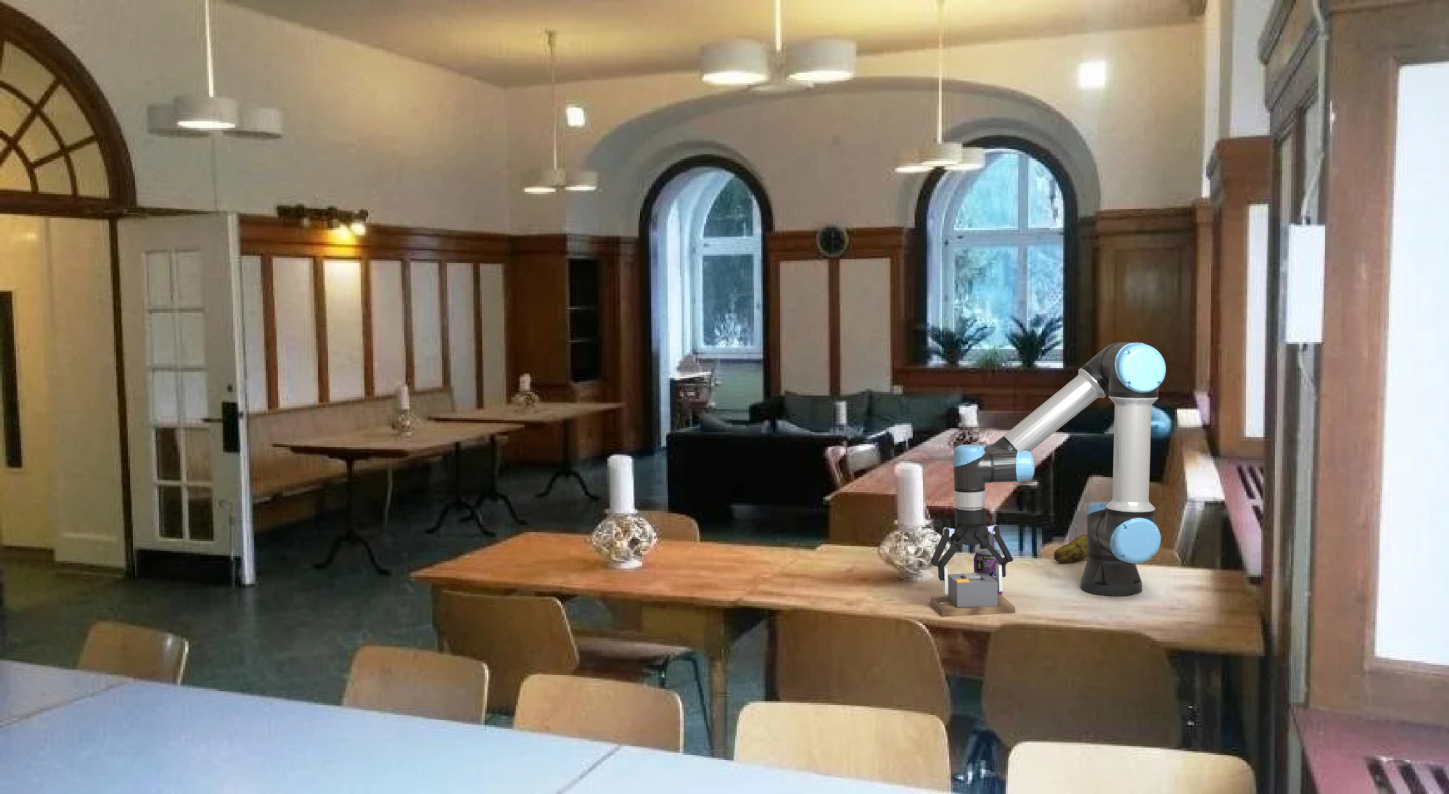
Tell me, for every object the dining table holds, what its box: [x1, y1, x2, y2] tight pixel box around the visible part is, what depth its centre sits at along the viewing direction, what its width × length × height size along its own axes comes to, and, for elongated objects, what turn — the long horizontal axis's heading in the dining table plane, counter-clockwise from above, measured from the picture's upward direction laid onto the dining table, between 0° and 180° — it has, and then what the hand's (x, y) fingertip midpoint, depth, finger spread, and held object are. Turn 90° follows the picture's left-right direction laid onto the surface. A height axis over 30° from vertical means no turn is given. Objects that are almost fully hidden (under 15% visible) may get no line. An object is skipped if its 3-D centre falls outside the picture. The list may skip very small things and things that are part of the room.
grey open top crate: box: [947, 573, 998, 607], centre depth 298 cm, size 10×10×7 cm
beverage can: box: [973, 548, 1003, 596], centre depth 308 cm, size 7×7×12 cm
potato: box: [1053, 533, 1088, 564], centre depth 344 cm, size 8×13×8 cm, turn 79°
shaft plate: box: [929, 594, 1016, 617], centre depth 298 cm, size 18×13×2 cm
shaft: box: [961, 572, 980, 581], centre depth 298 cm, size 4×4×7 cm
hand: (972, 591), depth 298 cm, fingers open, 13 cm apart
